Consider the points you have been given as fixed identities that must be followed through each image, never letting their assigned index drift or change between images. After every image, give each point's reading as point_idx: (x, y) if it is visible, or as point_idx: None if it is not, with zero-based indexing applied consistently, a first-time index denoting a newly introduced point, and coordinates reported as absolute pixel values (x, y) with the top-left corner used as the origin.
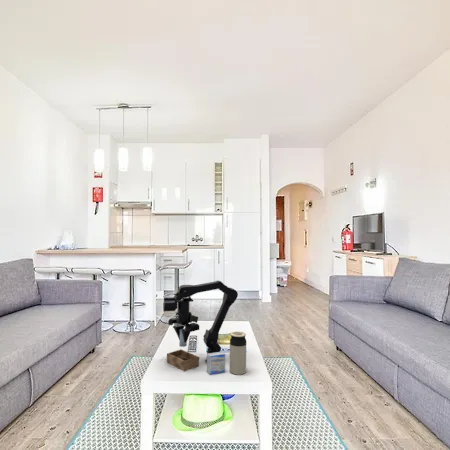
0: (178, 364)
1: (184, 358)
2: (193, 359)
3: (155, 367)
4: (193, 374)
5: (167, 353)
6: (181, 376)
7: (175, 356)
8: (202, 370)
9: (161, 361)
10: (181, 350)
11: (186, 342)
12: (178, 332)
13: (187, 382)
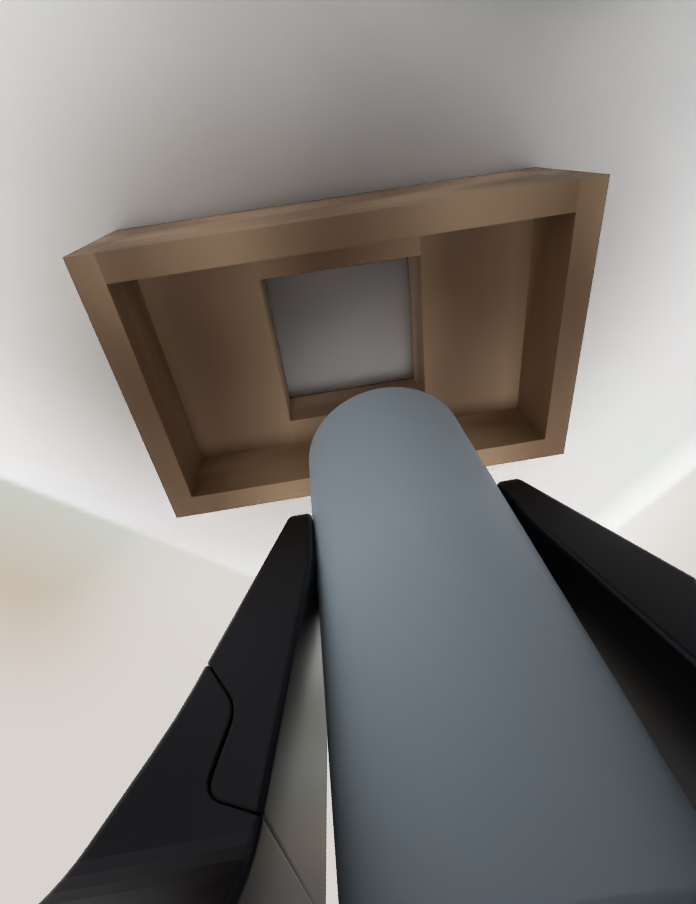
0: None
1: (282, 273)
2: (581, 304)
3: (261, 560)
4: (638, 359)
5: (175, 510)
6: (573, 464)
7: (168, 364)
8: (663, 212)
9: (137, 480)
10: (130, 280)
11: (474, 450)
12: (316, 828)
13: (688, 471)
